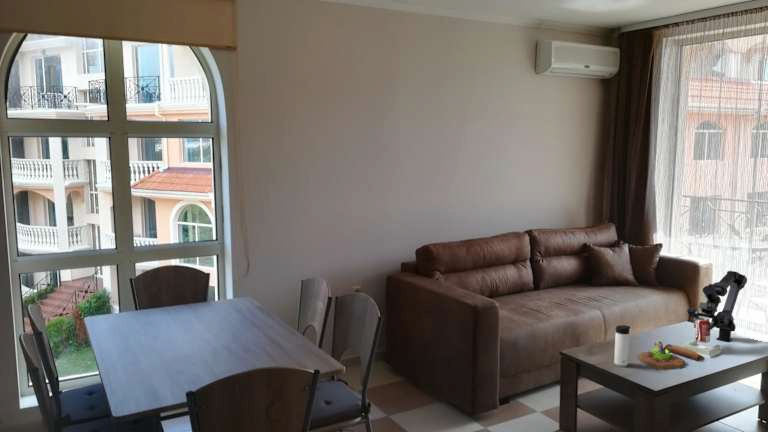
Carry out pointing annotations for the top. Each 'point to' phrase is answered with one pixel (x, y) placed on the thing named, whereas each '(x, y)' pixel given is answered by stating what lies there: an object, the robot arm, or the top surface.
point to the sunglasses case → (684, 352)
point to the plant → (661, 358)
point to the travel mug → (621, 346)
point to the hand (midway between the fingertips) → (701, 329)
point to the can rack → (702, 348)
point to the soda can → (702, 330)
